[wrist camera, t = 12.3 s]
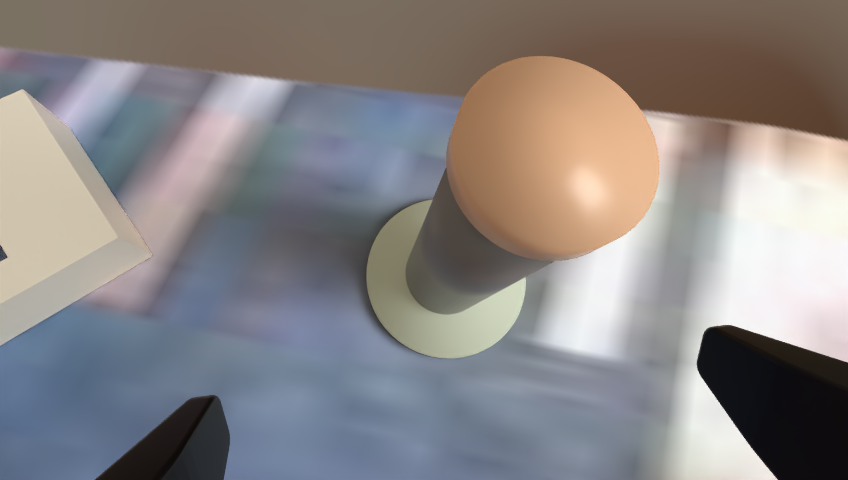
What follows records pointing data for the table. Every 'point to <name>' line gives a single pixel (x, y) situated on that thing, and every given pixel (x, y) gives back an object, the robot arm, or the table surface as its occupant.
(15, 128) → the square frame
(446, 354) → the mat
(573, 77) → the plug
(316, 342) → the table surface
